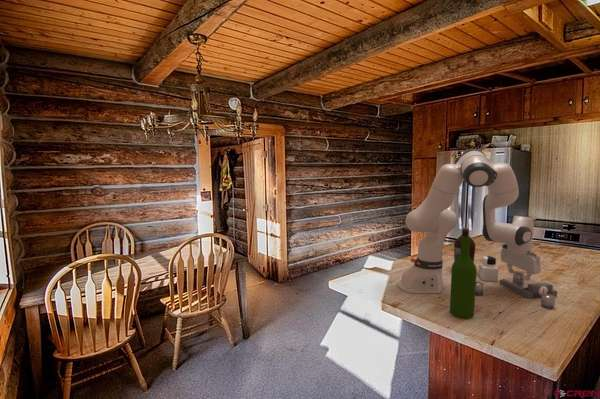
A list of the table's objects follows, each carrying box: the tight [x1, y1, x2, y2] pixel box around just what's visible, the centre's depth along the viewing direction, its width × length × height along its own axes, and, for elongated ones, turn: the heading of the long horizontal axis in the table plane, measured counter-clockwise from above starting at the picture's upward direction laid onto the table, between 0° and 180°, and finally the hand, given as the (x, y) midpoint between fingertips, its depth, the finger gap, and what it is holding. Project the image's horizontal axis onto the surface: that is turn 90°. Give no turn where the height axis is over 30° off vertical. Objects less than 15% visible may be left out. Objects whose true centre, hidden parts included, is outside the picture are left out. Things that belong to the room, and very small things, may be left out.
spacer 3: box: [540, 294, 556, 310], centre depth 136 cm, size 4×4×5 cm
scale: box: [499, 278, 558, 299], centre depth 153 cm, size 15×18×6 cm
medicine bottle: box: [478, 255, 499, 283], centre depth 168 cm, size 7×7×12 cm
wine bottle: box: [449, 235, 478, 320], centre depth 129 cm, size 9×9×32 cm
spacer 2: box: [512, 270, 526, 284], centre depth 154 cm, size 4×4×5 cm
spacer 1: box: [475, 280, 485, 297], centre depth 150 cm, size 4×4×5 cm
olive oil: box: [453, 227, 476, 264], centre depth 178 cm, size 11×11×25 cm
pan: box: [502, 277, 540, 289], centre depth 155 cm, size 13×12×1 cm
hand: (518, 276), depth 154 cm, fingers open, 8 cm apart
